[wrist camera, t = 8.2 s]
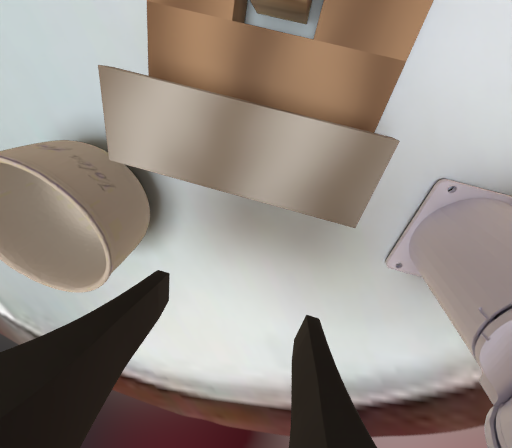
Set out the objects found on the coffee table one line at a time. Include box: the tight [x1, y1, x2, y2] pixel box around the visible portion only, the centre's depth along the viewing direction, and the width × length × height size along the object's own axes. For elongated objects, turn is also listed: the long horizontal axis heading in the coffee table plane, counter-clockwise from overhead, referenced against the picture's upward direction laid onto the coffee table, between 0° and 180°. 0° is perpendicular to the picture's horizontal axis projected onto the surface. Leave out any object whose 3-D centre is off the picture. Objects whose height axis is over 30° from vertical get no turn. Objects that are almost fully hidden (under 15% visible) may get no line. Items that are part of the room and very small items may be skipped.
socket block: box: [98, 0, 433, 228], centre depth 12 cm, size 14×13×6 cm
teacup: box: [0, 140, 150, 292], centre depth 19 cm, size 14×11×8 cm
